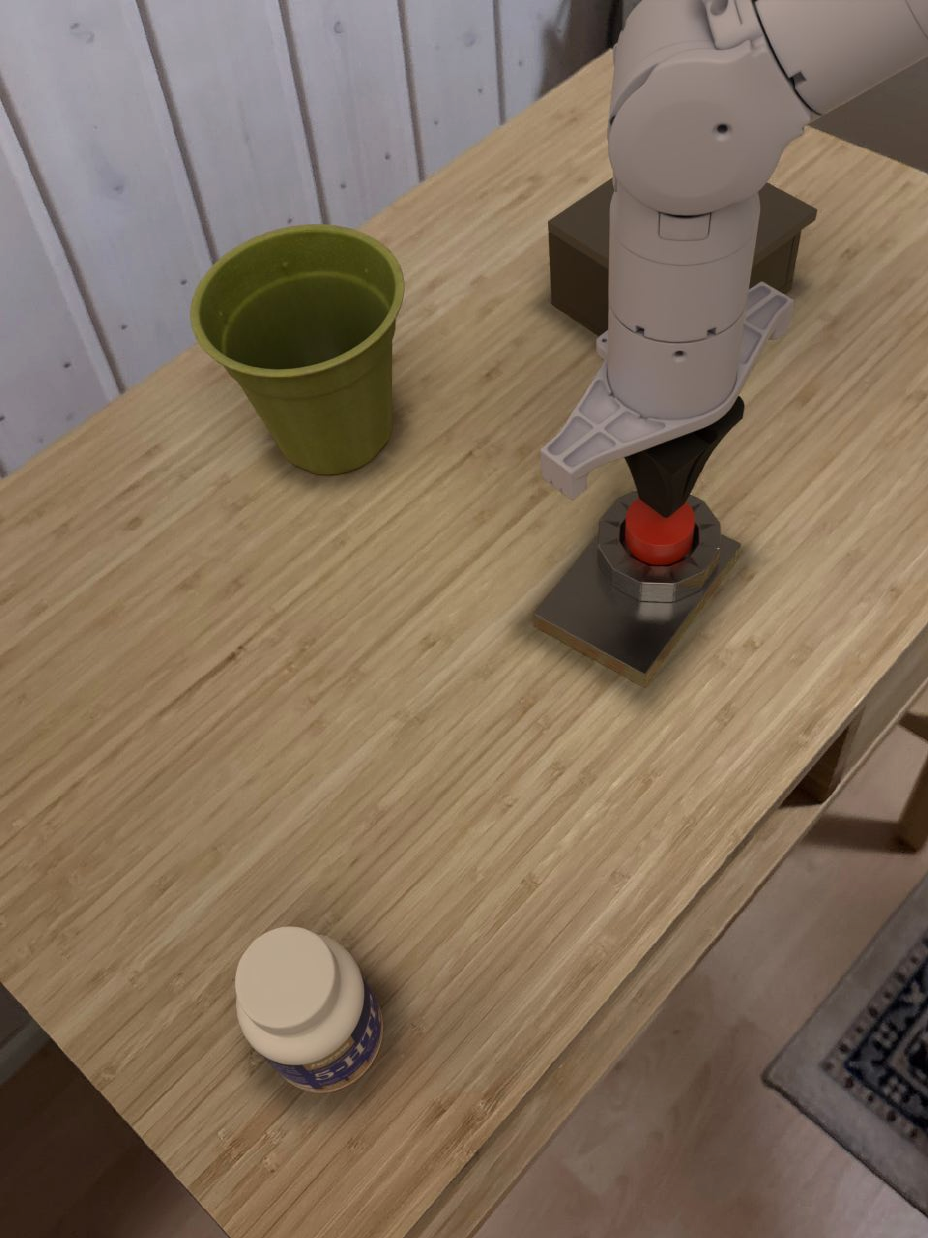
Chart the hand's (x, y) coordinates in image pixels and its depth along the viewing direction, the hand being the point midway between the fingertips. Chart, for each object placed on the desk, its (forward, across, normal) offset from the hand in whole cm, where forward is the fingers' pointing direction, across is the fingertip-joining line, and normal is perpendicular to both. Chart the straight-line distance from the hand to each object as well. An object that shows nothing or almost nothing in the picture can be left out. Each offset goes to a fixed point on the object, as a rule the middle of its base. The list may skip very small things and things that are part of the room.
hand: (661, 500), depth 59 cm
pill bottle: (+6, +29, +7) cm, 31 cm away
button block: (+6, +2, 0) cm, 6 cm away
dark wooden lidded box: (+6, -17, -14) cm, 23 cm away
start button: (+3, 0, 0) cm, 3 cm away
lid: (0, -17, -14) cm, 22 cm away
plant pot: (+6, +6, -21) cm, 23 cm away
